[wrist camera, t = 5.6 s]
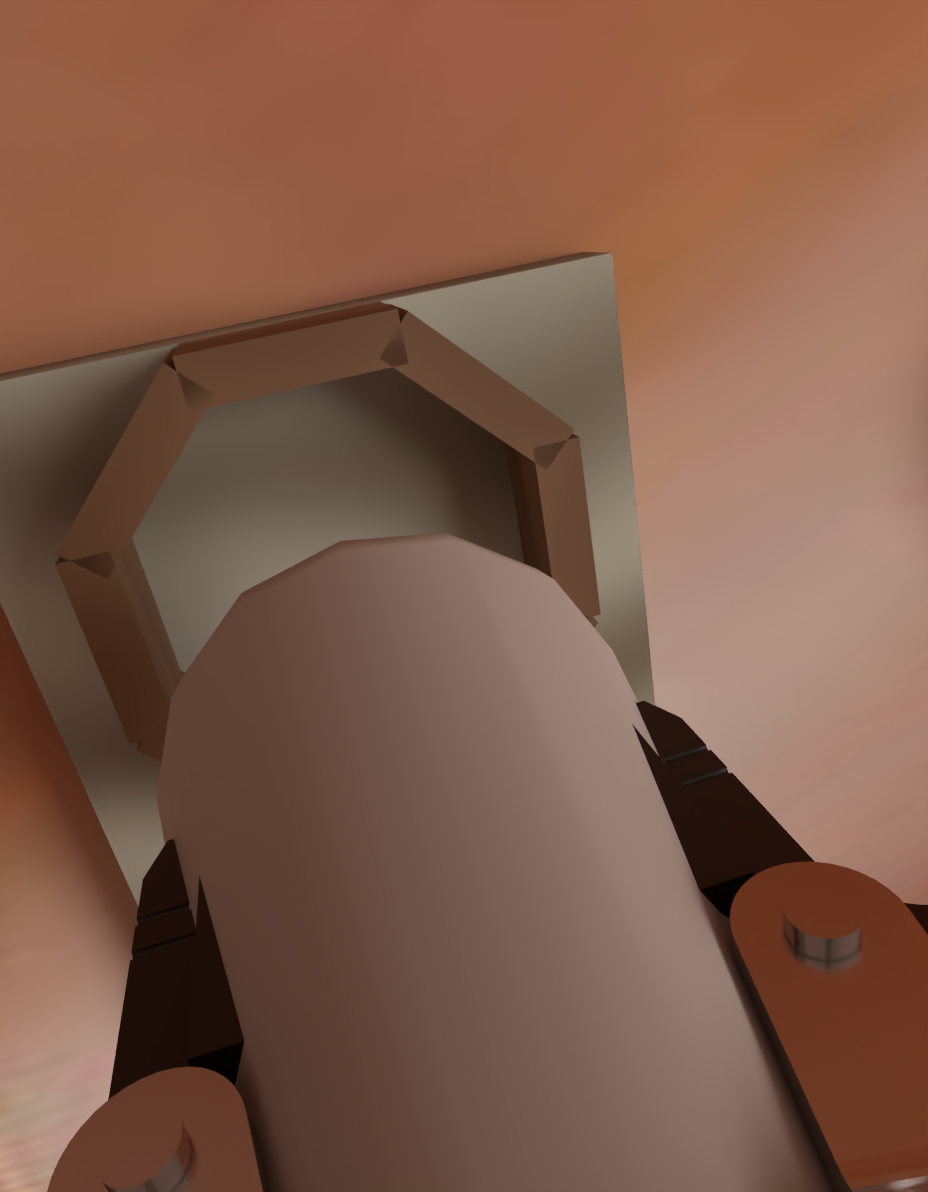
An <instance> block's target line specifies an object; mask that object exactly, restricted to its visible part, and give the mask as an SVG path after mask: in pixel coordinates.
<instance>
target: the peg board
mask: <svg viewBox="0 0 928 1192" xmlns="http://www.w3.org/2000/svg"><path fill="white" fill-rule="evenodd" d="M435 533H449V534H451V535H454V536H456V537H459V538H461V539H464V540H466V541H469V542H471V543H474V544H476V545H479V546H481V547H484V548H486V549H489V550H491V551H493V552H496V553H498V554H501V555H503V556H506V557H508V558H511V559H513V560H516V561H518V562H521V563H523V564H526V565H528V566H531V567H533V568H536V569H538V570H539V571H541V572H543V573H544V574H546V575H548V576H549V577H551V578H552V579H554V580H555V581H556V582H557V583H558V585H559V586H560V587H561V588H562V589H563V591H564V592H565V593H566V594H567V596H568V597H569V598H570V599H571V600H572V602H573V603H574V604H575V605H576V606H577V608H578V609H579V610H580V611H581V612H582V614H583V615H584V616H585V617H586V619H587V620H588V621H589V622H590V623H591V625H592V626H593V627H594V628H595V629H596V631H597V632H598V633H599V634H600V636H601V637H602V638H603V639H604V640H605V642H606V643H607V644H608V645H609V646H610V648H611V649H612V650H613V652H614V654H615V656H616V658H617V660H618V662H619V664H620V666H621V668H622V670H623V672H624V674H625V676H626V678H627V680H628V683H629V685H630V687H631V689H632V691H633V693H634V695H635V697H636V699H637V701H638V702H641V701H646V702H648V703H650V704H652V705H655V701H654V690H653V680H652V669H651V659H650V648H649V638H648V627H647V617H646V606H645V595H644V585H643V574H642V564H641V553H640V543H639V532H638V522H637V511H636V501H635V490H634V480H633V469H632V458H631V448H630V437H629V427H628V416H627V406H626V395H625V385H624V374H623V364H622V353H621V343H620V332H619V322H618V311H617V300H616V290H615V279H614V269H613V258H612V253H599V252H582V253H578V254H573V255H568V256H563V257H558V258H554V259H549V260H544V261H539V262H535V263H530V264H525V265H520V266H515V267H511V268H506V269H501V270H496V271H491V272H487V273H482V274H477V275H472V276H467V277H463V278H458V279H453V280H448V281H443V282H439V283H434V284H429V285H424V286H420V287H415V288H410V289H405V290H400V291H396V292H391V293H386V294H381V295H376V296H372V297H367V298H362V299H357V300H352V301H348V302H343V303H338V304H333V305H328V306H324V307H319V308H314V309H309V310H305V311H300V312H295V313H290V314H285V315H281V316H276V317H271V318H266V319H261V320H257V321H252V322H247V323H242V324H237V325H233V326H228V327H223V328H218V329H213V330H209V331H204V332H199V333H194V334H190V335H185V336H180V337H175V338H170V339H166V340H161V341H156V342H151V343H146V344H142V345H137V346H132V347H127V348H122V349H118V350H113V351H108V352H103V353H99V354H94V355H89V356H84V357H79V358H75V359H70V360H65V361H60V362H55V363H51V364H46V365H41V366H36V367H31V368H27V369H22V370H17V371H12V372H7V373H3V374H0V604H1V606H2V608H3V610H4V612H5V615H6V617H7V619H8V621H9V623H10V626H11V628H12V630H13V632H14V634H15V637H16V639H17V641H18V643H19V645H20V648H21V650H22V652H23V654H24V657H25V659H26V661H27V663H28V665H29V668H30V670H31V672H32V674H33V676H34V679H35V681H36V683H37V685H38V687H39V690H40V692H41V694H42V696H43V698H44V701H45V703H46V705H47V707H48V709H49V712H50V714H51V716H52V718H53V720H54V723H55V725H56V727H57V729H58V731H59V734H60V736H61V738H62V740H63V742H64V745H65V747H66V749H67V751H68V753H69V756H70V758H71V760H72V762H73V764H74V767H75V769H76V771H77V773H78V775H79V778H80V780H81V782H82V784H83V786H84V789H85V791H86V793H87V795H88V797H89V800H90V802H91V804H92V806H93V808H94V811H95V813H96V815H97V817H98V819H99V822H100V824H101V826H102V828H103V830H104V833H105V835H106V837H107V839H108V841H109V844H110V846H111V848H112V850H113V852H114V855H115V857H116V859H117V861H118V863H119V866H120V868H121V870H122V872H123V874H124V877H125V879H126V881H127V883H128V885H129V888H130V890H131V892H132V894H133V897H134V899H135V901H136V903H137V905H138V907H139V901H140V894H141V888H142V881H143V878H144V877H145V875H146V873H147V872H148V870H149V869H150V867H151V866H152V864H153V862H154V861H155V859H156V858H157V856H158V855H159V853H160V852H161V850H162V848H163V847H164V845H165V842H164V837H163V831H162V825H161V820H160V814H159V808H158V803H157V790H158V783H159V776H160V770H161V763H162V756H163V749H164V743H165V736H166V729H167V722H168V716H169V709H170V702H171V697H172V695H173V693H174V691H175V690H176V688H177V686H178V684H179V682H180V680H181V679H182V677H183V675H184V674H185V672H186V671H187V670H188V668H189V667H190V665H191V664H192V662H193V661H194V660H195V658H196V657H197V655H198V654H199V653H200V651H201V650H202V648H203V647H204V645H205V644H206V643H207V641H208V640H209V638H210V637H211V635H212V634H213V633H214V631H215V630H216V628H217V627H218V625H219V624H220V623H221V621H222V620H223V618H224V617H225V615H226V614H227V613H228V611H229V610H230V608H231V607H232V606H233V604H234V603H235V601H236V600H237V598H238V597H239V596H240V594H241V593H242V592H244V591H246V590H248V589H250V588H252V587H254V586H255V585H257V584H259V583H261V582H263V581H265V580H267V579H269V578H271V577H273V576H275V575H276V574H278V573H280V572H282V571H284V570H286V569H288V568H290V567H292V566H294V565H295V564H297V563H299V562H301V561H303V560H305V559H307V558H309V557H311V556H313V555H315V554H316V553H318V552H320V551H322V550H324V549H326V548H328V547H330V546H332V545H334V544H335V543H337V542H339V541H345V540H358V539H371V538H384V537H397V536H410V535H422V534H435Z"/></svg>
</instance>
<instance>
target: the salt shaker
mask: <svg viewBox="0 0 928 1192" xmlns="http://www.w3.org/2000/svg"><path fill="white" fill-rule="evenodd" d="M637 702H638V701H637V699H636V697H635V695H634V693H633V691H632V689H631V687H630V685H629V683H628V680H627V678H626V676H625V674H624V672H623V670H622V668H621V666H620V664H619V662H618V660H617V658H616V656H615V654H614V652H613V650H612V649H611V648H610V646H609V645H608V644H607V643H606V642H605V640H604V639H603V638H602V637H601V636H600V634H599V633H598V632H597V631H596V629H595V628H594V627H593V626H592V625H591V623H590V622H589V621H588V620H587V619H586V617H585V616H584V615H583V614H582V612H581V611H580V610H579V609H578V608H577V606H576V605H575V604H574V603H573V602H572V600H571V599H570V598H569V597H568V596H567V594H566V593H565V592H564V591H563V589H562V588H561V587H560V586H559V585H558V583H557V582H556V581H555V580H554V579H552V578H551V577H549V576H548V575H546V574H544V573H543V572H541V571H539V570H538V569H536V568H533V567H531V566H528V565H526V564H523V563H521V562H518V561H516V560H513V559H511V558H508V557H506V556H503V555H501V554H498V553H496V552H493V551H491V550H489V549H486V548H484V547H481V546H479V545H476V544H474V543H471V542H469V541H466V540H464V539H461V538H459V537H456V536H454V535H451V534H449V533H435V534H422V535H410V536H397V537H384V538H371V539H358V540H345V541H339V542H337V543H335V544H334V545H332V546H330V547H328V548H326V549H324V550H322V551H320V552H318V553H316V554H315V555H313V556H311V557H309V558H307V559H305V560H303V561H301V562H299V563H297V564H295V565H294V566H292V567H290V568H288V569H286V570H284V571H282V572H280V573H278V574H276V575H275V576H273V577H271V578H269V579H267V580H265V581H263V582H261V583H259V584H257V585H255V586H254V587H252V588H250V589H248V590H246V591H244V592H242V593H241V594H240V596H239V597H238V598H237V600H236V601H235V603H234V604H233V606H232V607H231V608H230V610H229V611H228V613H227V614H226V615H225V617H224V618H223V620H222V621H221V623H220V624H219V625H218V627H217V628H216V630H215V631H214V633H213V634H212V635H211V637H210V638H209V640H208V641H207V643H206V644H205V645H204V647H203V648H202V650H201V651H200V653H199V654H198V655H197V657H196V658H195V660H194V661H193V662H192V664H191V665H190V667H189V668H188V670H187V671H186V672H185V674H184V675H183V677H182V679H181V680H180V682H179V684H178V686H177V688H176V690H175V691H174V693H173V695H172V697H171V702H170V709H169V716H168V722H167V729H166V736H165V743H164V749H163V756H162V763H161V770H160V776H159V783H158V790H157V803H158V808H159V814H160V820H161V825H162V831H163V837H164V842H165V844H166V842H167V841H168V840H171V839H174V841H175V845H176V849H177V853H178V857H179V861H180V865H181V869H182V874H183V878H184V882H185V886H186V890H187V894H188V898H189V910H190V909H191V910H192V915H193V919H194V923H195V927H196V917H197V902H198V887H199V875H200V879H201V883H202V887H203V890H204V894H205V898H206V901H207V905H208V909H209V912H210V916H211V920H212V923H213V927H214V931H215V934H216V938H217V942H218V945H219V949H220V953H221V956H222V960H223V964H224V967H225V971H226V975H227V978H228V982H229V986H230V989H231V993H232V997H233V1000H234V1004H235V1008H236V1012H237V1015H238V1019H239V1023H240V1026H241V1030H242V1034H243V1037H244V1045H243V1050H242V1055H241V1059H240V1064H239V1069H238V1074H237V1078H236V1083H235V1087H236V1089H237V1091H238V1092H239V1094H240V1095H241V1097H242V1099H243V1102H244V1104H245V1106H246V1108H247V1111H248V1113H249V1115H250V1118H251V1120H252V1122H253V1124H254V1127H255V1129H256V1132H257V1135H258V1139H259V1142H260V1147H261V1151H262V1155H263V1160H264V1164H265V1169H266V1173H267V1177H268V1182H269V1186H270V1190H271V1192H833V1191H832V1188H831V1186H830V1184H829V1181H828V1179H827V1177H826V1174H825V1172H824V1170H823V1167H822V1165H821V1163H820V1160H819V1158H818V1156H817V1153H816V1151H815V1149H814V1146H813V1144H812V1142H811V1139H810V1137H809V1135H808V1132H807V1130H806V1128H805V1125H804V1123H803V1121H802V1118H801V1116H800V1113H799V1111H798V1109H797V1106H796V1104H795V1102H794V1099H793V1097H792V1095H791V1092H790V1090H789V1088H788V1085H787V1083H786V1081H785V1078H784V1076H783V1074H782V1071H781V1069H780V1067H779V1064H778V1062H777V1060H776V1057H775V1055H774V1053H773V1050H772V1048H771V1046H770V1043H769V1041H768V1039H767V1036H766V1034H765V1032H764V1029H763V1027H762V1025H761V1022H760V1020H759V1018H758V1015H757V1013H756V1011H755V1008H754V1006H753V1004H752V1001H751V999H750V997H749V994H748V992H747V990H746V987H745V985H744V983H743V980H742V978H741V976H740V973H739V971H738V969H737V966H736V964H735V961H734V958H733V955H732V948H731V930H730V918H728V917H726V916H724V915H722V914H721V913H720V912H719V911H718V910H717V908H716V907H715V906H714V905H713V904H712V903H711V902H710V901H709V900H708V899H707V898H706V897H705V896H704V895H703V894H702V892H701V891H700V890H699V888H698V886H697V883H696V881H695V878H694V876H693V873H692V871H691V868H690V866H689V863H688V861H687V858H686V856H685V854H684V851H683V849H682V846H681V844H680V841H679V839H678V836H677V834H676V831H675V829H674V826H673V824H672V821H671V819H670V816H669V814H668V811H667V809H666V806H665V804H664V801H663V799H662V796H661V794H660V792H659V789H658V787H657V784H656V782H655V779H654V777H653V774H652V772H651V769H650V767H649V764H648V762H647V759H646V757H645V754H644V752H643V749H642V747H641V744H640V742H639V739H638V737H637V735H636V732H635V730H634V727H633V725H634V726H635V728H636V729H637V730H638V731H639V733H640V734H641V735H642V736H643V737H644V739H645V740H646V741H647V742H648V744H649V745H650V746H651V747H652V748H653V750H654V751H655V752H656V753H657V751H656V748H655V746H654V744H653V741H652V739H651V737H650V735H649V732H648V730H647V728H646V726H645V723H644V721H643V719H642V716H641V714H640V712H639V710H638V707H637V705H636V703H637ZM632 724H633V725H632ZM657 755H658V753H657ZM658 756H659V755H658Z"/></svg>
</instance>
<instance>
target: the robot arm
mask: <svg viewBox="0 0 928 1192" xmlns="http://www.w3.org/2000/svg"><path fill="white" fill-rule="evenodd" d="M636 705H637V707H638V710H639V712H640V714H641V716H642V719H643V721H644V723H645V726H646V728H647V730H648V732H649V735H650V737H651V739H652V741H653V744H654V746H655V748H656V751H657V753H658V755H659V756H658V755H657V753H656V752H655V751H654V750H653V748H652V747H651V746H650V745H649V744H648V742H647V741H646V740H645V739H644V737H643V736H642V735H641V734H640V733H639V731H638V730H637V729H636V728H635V726H634V725H633V724H632V725H633V727H634V730H635V732H636V735H637V737H638V739H639V742H640V744H641V747H642V749H643V752H644V754H645V757H646V759H647V762H648V764H649V767H650V769H651V772H652V774H653V777H654V779H655V782H656V784H657V787H658V789H659V792H660V794H661V796H662V799H663V801H664V804H665V806H666V809H667V811H668V814H669V816H670V819H671V821H672V824H673V826H674V829H675V831H676V834H677V836H678V839H679V841H680V844H681V846H682V849H683V851H684V854H685V856H686V858H687V861H688V863H689V866H690V868H691V871H692V873H693V876H694V878H695V881H696V883H697V886H698V888H699V890H700V891H701V892H702V894H703V895H704V896H705V897H706V898H707V899H708V900H709V901H710V902H711V903H712V904H713V905H714V906H715V907H716V908H717V910H718V911H719V912H720V913H721V914H722V915H724V916H726V917H728V918H730V930H731V948H732V955H733V958H734V961H735V964H736V966H737V969H738V971H739V973H740V976H741V978H742V980H743V983H744V985H745V987H746V990H747V992H748V994H749V997H750V999H751V1001H752V1004H753V1006H754V1008H755V1011H756V1013H757V1015H758V1018H759V1020H760V1022H761V1025H762V1027H763V1029H764V1032H765V1034H766V1036H767V1039H768V1041H769V1043H770V1046H771V1048H772V1050H773V1053H774V1055H775V1057H776V1060H777V1062H778V1064H779V1067H780V1069H781V1071H782V1074H783V1076H784V1078H785V1081H786V1083H787V1085H788V1088H789V1090H790V1092H791V1095H792V1097H793V1099H794V1102H795V1104H796V1106H797V1109H798V1111H799V1113H800V1116H801V1118H802V1121H803V1123H804V1125H805V1128H806V1130H807V1132H808V1135H809V1137H810V1139H811V1142H812V1144H813V1146H814V1149H815V1151H816V1153H817V1156H818V1158H819V1160H820V1163H821V1165H822V1167H823V1170H824V1172H825V1174H826V1177H827V1179H828V1181H829V1184H830V1186H831V1188H832V1191H833V1192H928V905H917V904H908V903H903V902H902V900H901V899H900V898H899V897H898V896H896V895H895V894H894V893H893V892H892V891H891V890H889V889H888V888H887V887H885V886H884V885H882V884H881V883H879V882H878V881H876V880H875V879H872V878H870V877H868V876H866V875H864V874H862V873H860V872H857V871H855V870H852V869H849V868H846V867H842V866H838V865H834V864H828V863H820V862H815V861H814V860H813V859H812V858H811V857H810V856H809V855H808V854H807V853H806V852H805V851H804V850H803V849H802V848H801V846H800V845H799V844H798V843H797V842H796V841H795V840H794V839H793V838H792V837H791V836H790V835H789V834H788V832H787V831H786V830H785V829H784V828H783V827H782V826H781V825H780V824H779V823H778V822H777V821H776V820H775V818H774V817H773V816H772V815H771V814H770V813H769V812H768V811H767V810H766V809H765V808H764V807H763V806H762V804H761V803H760V802H759V801H758V800H757V799H756V798H755V797H754V796H753V795H752V794H751V793H750V792H749V790H748V789H747V788H746V787H745V786H744V785H743V784H742V783H741V782H740V781H739V780H738V779H737V778H736V776H735V775H734V774H733V773H730V774H729V773H728V770H727V767H726V766H725V765H724V764H723V762H722V761H721V760H720V759H719V758H718V757H717V756H716V755H715V754H714V753H713V752H712V751H711V750H709V751H708V750H707V747H706V744H705V743H704V742H703V741H702V740H701V739H700V738H699V737H698V736H697V734H696V733H695V732H694V731H693V730H692V729H691V728H690V727H689V726H688V725H687V724H686V723H685V722H684V720H683V719H682V718H680V717H678V716H676V715H674V714H672V713H669V712H667V711H665V710H663V709H661V708H659V707H657V706H655V705H652V704H650V703H648V702H646V701H641V702H637V703H636ZM137 921H138V926H135V933H134V939H133V946H132V955H133V960H131V961H130V965H129V971H128V978H127V984H126V991H125V997H124V1004H123V1010H122V1016H121V1023H120V1029H119V1036H118V1042H117V1049H116V1055H115V1061H114V1068H113V1074H112V1081H111V1087H110V1094H109V1098H108V1101H107V1102H105V1103H104V1104H103V1105H102V1106H101V1107H100V1108H99V1109H97V1110H96V1111H95V1112H94V1113H93V1114H92V1115H91V1117H90V1118H89V1119H88V1120H87V1121H86V1122H85V1123H84V1124H83V1125H82V1126H81V1128H80V1129H79V1130H78V1132H77V1133H76V1134H75V1136H74V1137H73V1138H72V1140H71V1141H70V1142H69V1144H68V1145H67V1147H66V1149H65V1151H64V1152H63V1154H62V1156H61V1157H60V1159H59V1161H58V1163H57V1166H56V1168H55V1170H54V1172H53V1175H52V1177H51V1180H50V1184H49V1187H48V1191H47V1192H271V1190H270V1186H269V1182H268V1177H267V1173H266V1169H265V1164H264V1160H263V1155H262V1151H261V1147H260V1142H259V1139H258V1135H257V1132H256V1129H255V1127H254V1124H253V1122H252V1120H251V1118H250V1115H249V1113H248V1111H247V1108H246V1106H245V1104H244V1102H243V1099H242V1097H241V1095H240V1094H239V1092H238V1091H237V1089H236V1087H235V1083H236V1078H237V1074H238V1069H239V1064H240V1059H241V1055H242V1050H243V1045H244V1037H243V1034H242V1030H241V1026H240V1023H239V1019H238V1015H237V1012H236V1008H235V1004H234V1000H233V997H232V993H231V989H230V986H229V982H228V978H227V975H226V971H225V967H224V964H223V960H222V956H221V953H220V949H219V945H218V942H217V938H216V934H215V931H214V927H213V923H212V920H211V916H210V912H209V909H208V905H207V901H206V898H205V894H204V890H203V887H202V883H201V879H200V875H199V887H198V902H197V917H196V927H195V923H194V919H193V915H192V910H191V909H190V910H189V898H188V894H187V890H186V886H185V882H184V878H183V874H182V869H181V865H180V861H179V857H178V853H177V849H176V845H175V841H174V839H171V840H168V841H167V842H166V844H165V845H164V847H163V848H162V850H161V852H160V853H159V855H158V856H157V858H156V859H155V861H154V862H153V864H152V866H151V867H150V869H149V870H148V872H147V873H146V875H145V877H144V878H143V881H142V888H141V894H140V901H139V907H138V913H137Z"/></svg>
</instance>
